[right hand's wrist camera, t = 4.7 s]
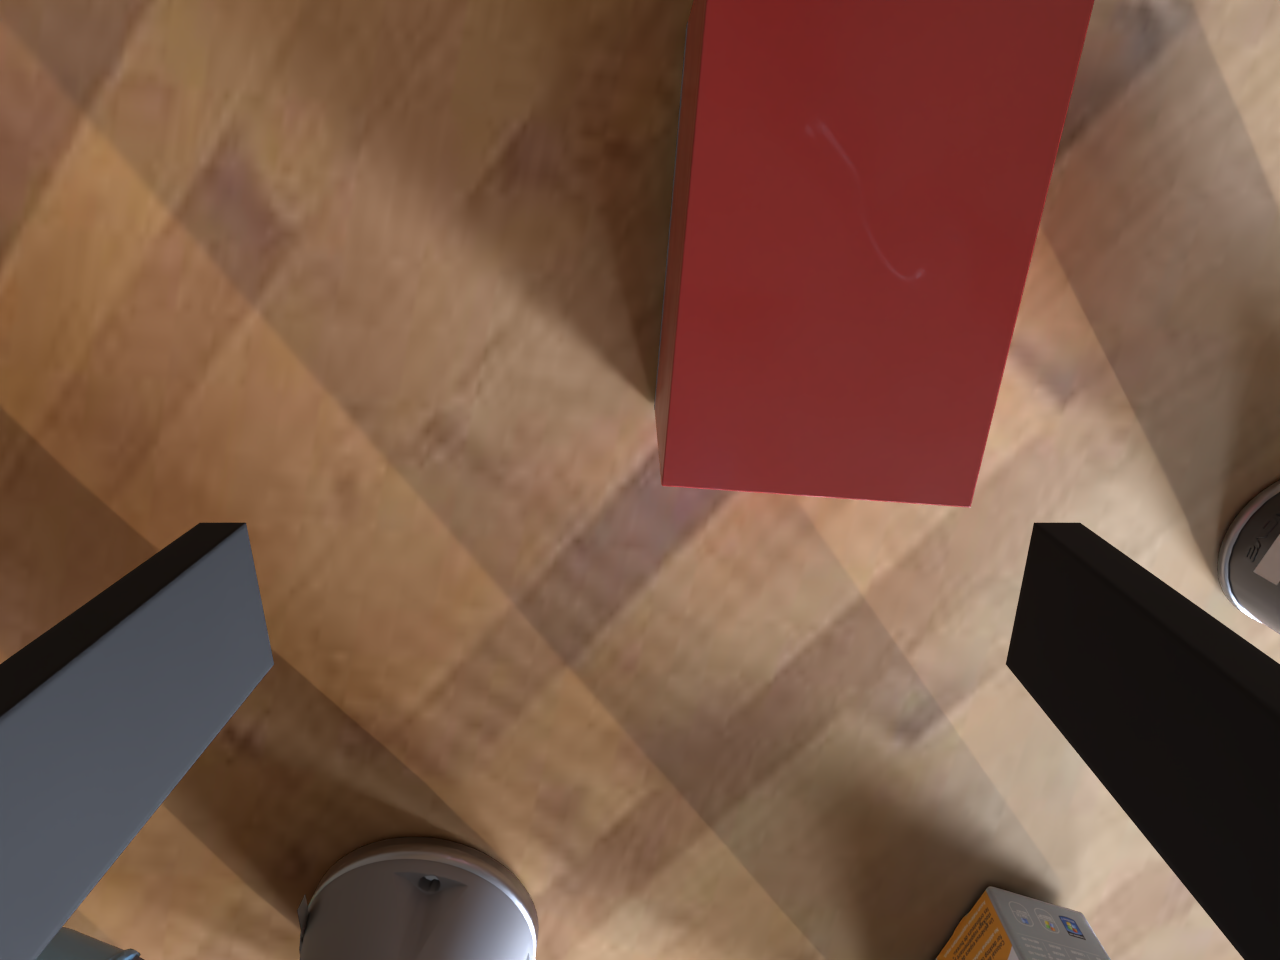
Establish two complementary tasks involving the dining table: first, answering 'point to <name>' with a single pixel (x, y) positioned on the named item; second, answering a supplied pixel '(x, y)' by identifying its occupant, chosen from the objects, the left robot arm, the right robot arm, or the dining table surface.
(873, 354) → the cabinet
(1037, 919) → the hard drive box
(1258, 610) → the left robot arm
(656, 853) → the dining table surface
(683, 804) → the dining table surface
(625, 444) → the dining table surface
